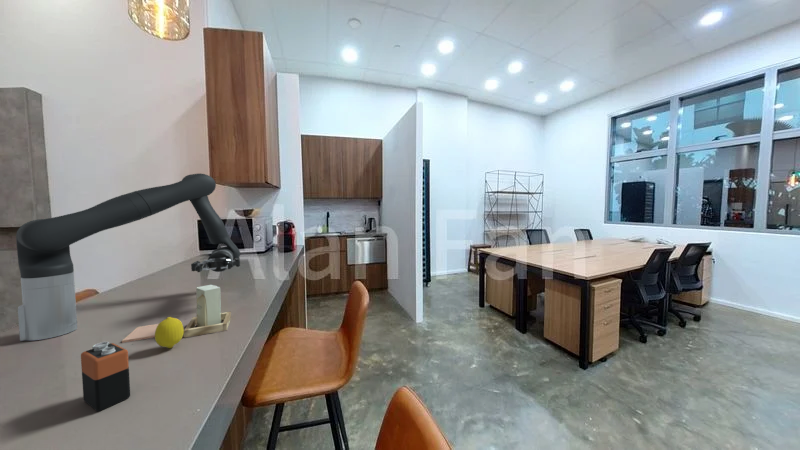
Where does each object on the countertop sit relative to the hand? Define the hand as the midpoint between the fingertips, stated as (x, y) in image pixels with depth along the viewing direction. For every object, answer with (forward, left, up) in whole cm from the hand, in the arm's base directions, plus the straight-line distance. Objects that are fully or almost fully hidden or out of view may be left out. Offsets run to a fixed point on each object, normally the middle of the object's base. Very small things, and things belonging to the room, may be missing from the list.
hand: (214, 267), depth 90 cm
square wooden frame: (0, -11, -16) cm, 20 cm away
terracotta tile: (-14, -7, -16) cm, 23 cm away
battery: (-11, -41, -16) cm, 46 cm away
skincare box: (0, -11, -16) cm, 20 cm away
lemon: (-7, -22, -16) cm, 28 cm away
